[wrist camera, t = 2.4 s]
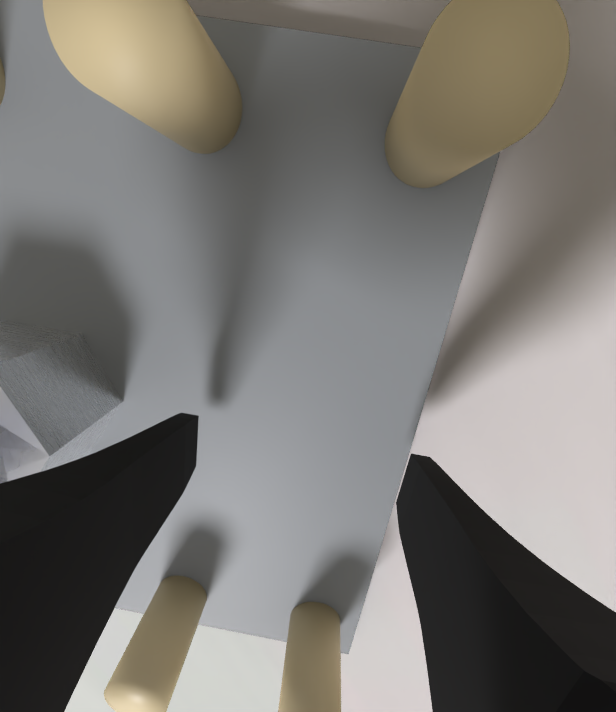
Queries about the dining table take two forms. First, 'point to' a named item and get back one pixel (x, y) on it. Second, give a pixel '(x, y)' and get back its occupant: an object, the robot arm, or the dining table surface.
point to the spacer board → (257, 279)
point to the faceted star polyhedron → (49, 398)
